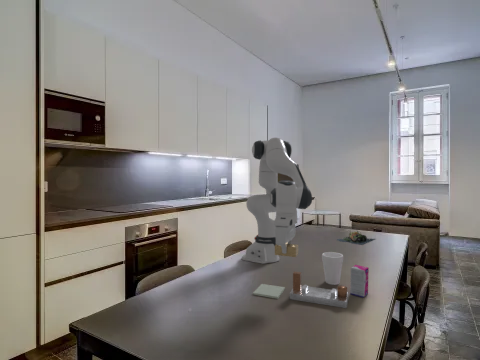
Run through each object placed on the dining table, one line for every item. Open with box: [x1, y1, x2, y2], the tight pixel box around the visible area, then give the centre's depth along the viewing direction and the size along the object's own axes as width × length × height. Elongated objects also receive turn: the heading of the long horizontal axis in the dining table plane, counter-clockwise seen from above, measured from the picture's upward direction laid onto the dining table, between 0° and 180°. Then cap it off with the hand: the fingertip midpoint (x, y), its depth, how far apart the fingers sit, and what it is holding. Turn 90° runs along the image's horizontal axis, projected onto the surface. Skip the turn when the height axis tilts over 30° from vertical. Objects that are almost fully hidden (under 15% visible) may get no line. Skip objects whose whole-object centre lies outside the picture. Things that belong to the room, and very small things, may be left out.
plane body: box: [289, 271, 349, 309], centre depth 122 cm, size 22×10×10 cm, turn 66°
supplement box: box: [349, 264, 370, 298], centre depth 126 cm, size 6×6×12 cm
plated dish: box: [336, 230, 376, 246], centre depth 229 cm, size 35×28×7 cm
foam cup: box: [321, 251, 344, 286], centre depth 140 cm, size 10×9×13 cm
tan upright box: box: [275, 243, 299, 258], centre depth 127 cm, size 9×5×4 cm, turn 67°
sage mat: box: [252, 283, 286, 300], centre depth 129 cm, size 11×11×1 cm
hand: (286, 251), depth 127 cm, fingers closed on tan upright box, 5 cm apart
